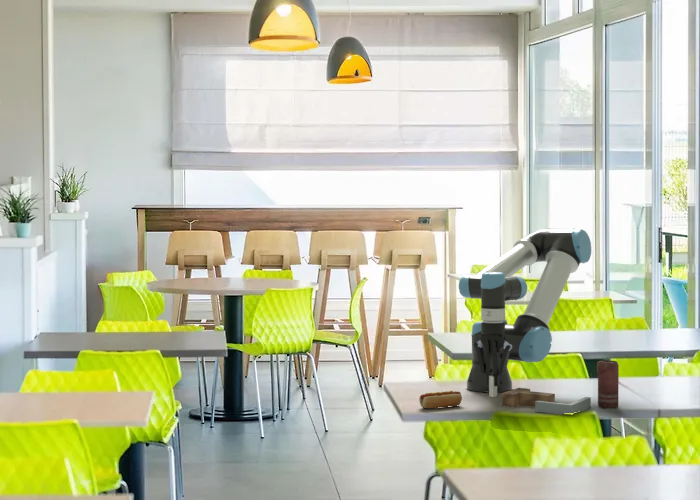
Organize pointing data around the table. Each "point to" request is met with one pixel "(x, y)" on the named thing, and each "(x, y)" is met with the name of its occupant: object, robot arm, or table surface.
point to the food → (440, 399)
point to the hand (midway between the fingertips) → (493, 396)
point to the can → (608, 383)
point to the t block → (525, 397)
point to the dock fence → (563, 406)
